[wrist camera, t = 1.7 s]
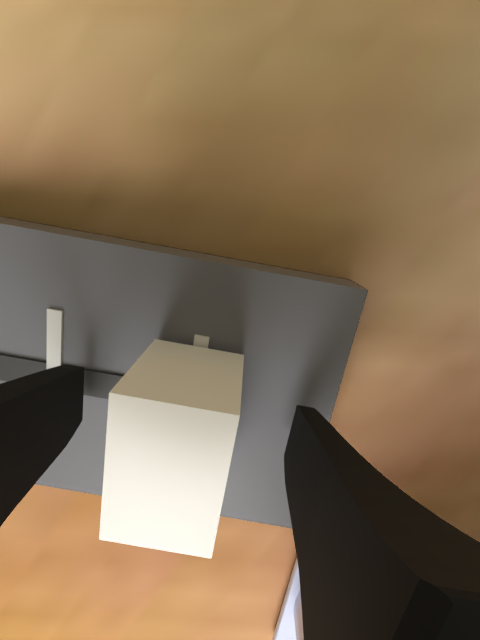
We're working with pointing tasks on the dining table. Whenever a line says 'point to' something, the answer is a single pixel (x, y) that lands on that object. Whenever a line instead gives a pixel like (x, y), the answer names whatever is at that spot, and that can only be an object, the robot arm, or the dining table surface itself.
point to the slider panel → (174, 326)
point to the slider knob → (170, 448)
